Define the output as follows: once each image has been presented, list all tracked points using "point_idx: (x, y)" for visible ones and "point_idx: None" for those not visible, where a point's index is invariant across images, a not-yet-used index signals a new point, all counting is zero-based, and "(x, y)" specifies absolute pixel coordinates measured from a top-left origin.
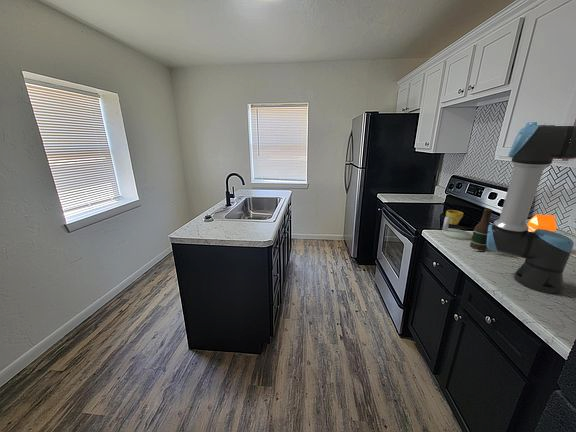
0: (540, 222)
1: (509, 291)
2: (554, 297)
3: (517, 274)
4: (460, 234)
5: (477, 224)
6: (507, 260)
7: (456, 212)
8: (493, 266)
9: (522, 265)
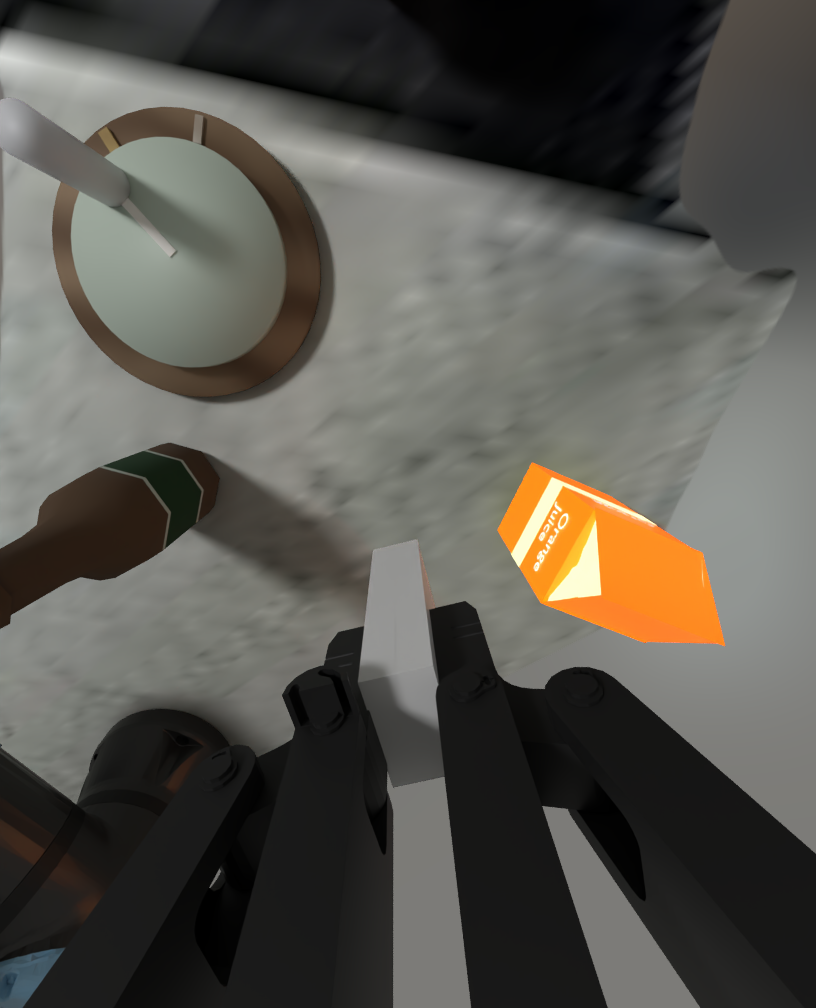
0: (574, 607)
1: None
2: None
3: (96, 753)
4: (181, 301)
5: (39, 512)
6: (235, 608)
7: None
8: (110, 642)
9: (90, 781)
